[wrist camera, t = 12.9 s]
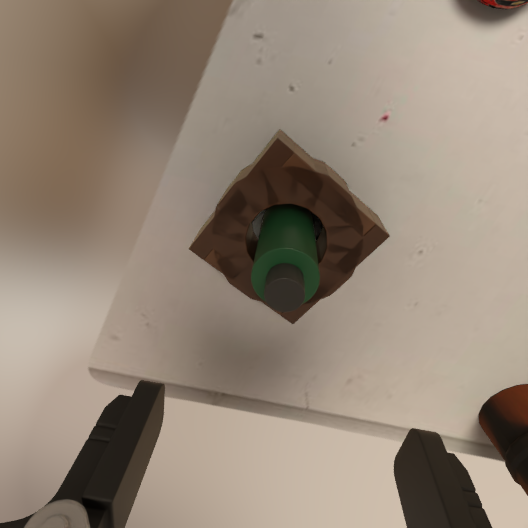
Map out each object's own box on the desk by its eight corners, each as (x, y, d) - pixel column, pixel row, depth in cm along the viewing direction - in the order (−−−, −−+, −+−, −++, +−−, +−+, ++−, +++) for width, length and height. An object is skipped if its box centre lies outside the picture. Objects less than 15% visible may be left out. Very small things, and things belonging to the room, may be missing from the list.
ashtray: (195, 228, 30) (182, 249, 26) (279, 122, 26) (277, 129, 22) (293, 301, 32) (293, 329, 29) (384, 215, 28) (397, 235, 25)
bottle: (252, 225, 29) (232, 298, 20) (284, 188, 28) (280, 248, 18) (290, 255, 30) (288, 338, 21) (323, 220, 29) (338, 293, 19)
